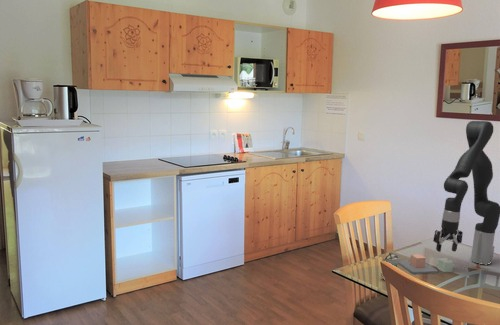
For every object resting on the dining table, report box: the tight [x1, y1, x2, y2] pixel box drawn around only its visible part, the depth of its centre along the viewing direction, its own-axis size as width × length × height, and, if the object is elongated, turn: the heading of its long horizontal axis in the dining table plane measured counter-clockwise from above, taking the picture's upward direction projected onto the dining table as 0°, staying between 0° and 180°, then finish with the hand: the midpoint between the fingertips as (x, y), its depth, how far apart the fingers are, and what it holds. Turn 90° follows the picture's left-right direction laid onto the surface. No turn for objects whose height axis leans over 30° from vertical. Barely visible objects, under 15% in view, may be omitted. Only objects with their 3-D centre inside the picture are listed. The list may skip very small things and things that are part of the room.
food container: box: [381, 251, 401, 277], centre depth 203 cm, size 12×6×10 cm, turn 148°
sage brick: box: [436, 257, 454, 273], centre depth 216 cm, size 5×5×5 cm
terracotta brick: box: [409, 253, 426, 268], centre depth 217 cm, size 5×5×5 cm
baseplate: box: [398, 259, 439, 275], centre depth 217 cm, size 14×14×1 cm
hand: (446, 251), depth 215 cm, fingers open, 8 cm apart
